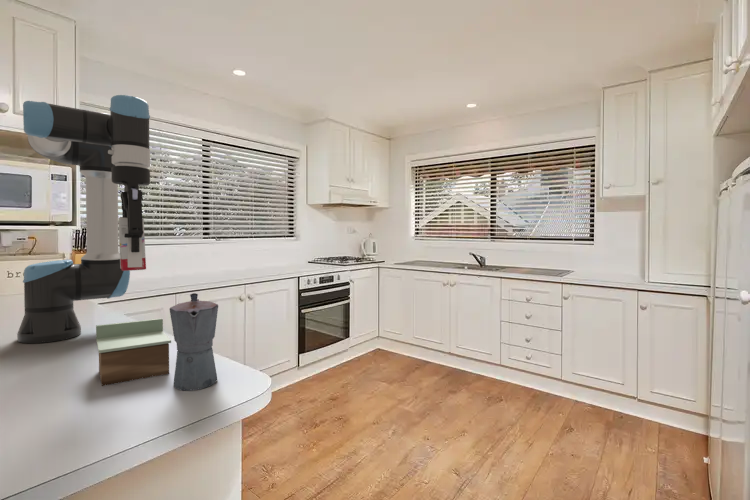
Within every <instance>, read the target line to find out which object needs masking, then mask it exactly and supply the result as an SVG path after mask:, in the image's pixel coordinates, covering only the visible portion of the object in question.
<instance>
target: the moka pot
mask: <svg viewBox="0 0 750 500" xmlns="http://www.w3.org/2000/svg"><path fill="white" fill-rule="evenodd" d="M198 296H199V294H198V293H195V292H194V293H190V294H189V297H190V300H189V301H185V302H180V303H177V304H174V305H173V306H171V307H170V308H169V314H170V321H171V326H172V333H173V339H174V342H175V343H176V350H177V351H176V360H175V369H174V375H173V376H174V377H173V378H174V379H173V387H174V388H175V389H177V390H180V391H189V392H190V391H198V390H202V389H206V388H208V387H211V386H212V385H214V384H215V383H216V382H217V381H218V374H217V368H216V362H215V357H214V356H215V355H214V350H213V343H214V341H213V340H214V338H215V337H216V336H215V335H216V327H217V326H216V325H217V318H218V310H219V304H218V303H216V302H215V303H214V302H213V301H207V300H199V299H198Z"/></svg>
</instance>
